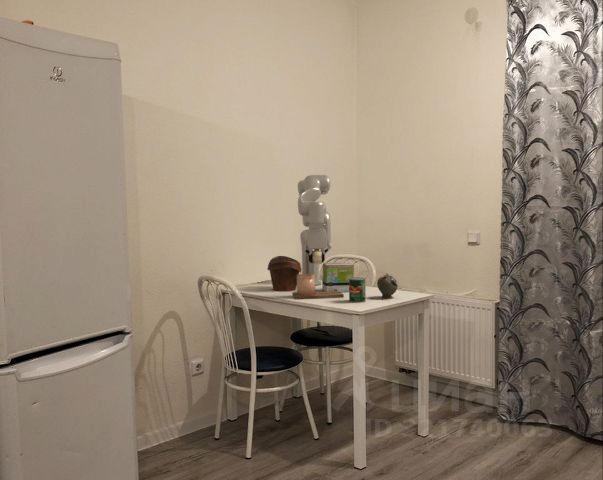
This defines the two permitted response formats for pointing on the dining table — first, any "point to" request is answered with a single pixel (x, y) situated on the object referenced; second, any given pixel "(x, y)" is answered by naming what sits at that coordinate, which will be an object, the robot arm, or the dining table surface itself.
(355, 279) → the canned tomato
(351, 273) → the coffee box
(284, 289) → the case
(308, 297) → the board
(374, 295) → the dining table surface
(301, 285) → the jar
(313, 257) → the stopper
